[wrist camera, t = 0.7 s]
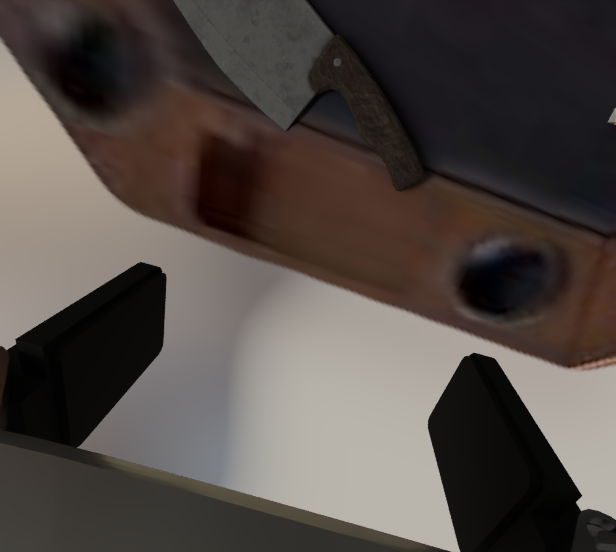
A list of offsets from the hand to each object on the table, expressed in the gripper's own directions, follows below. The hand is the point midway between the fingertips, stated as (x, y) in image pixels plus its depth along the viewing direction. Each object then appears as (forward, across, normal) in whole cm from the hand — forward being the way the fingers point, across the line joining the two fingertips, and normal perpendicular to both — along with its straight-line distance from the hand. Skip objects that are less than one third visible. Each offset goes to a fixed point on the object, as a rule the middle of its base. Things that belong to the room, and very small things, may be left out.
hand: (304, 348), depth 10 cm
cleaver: (+29, +6, -10) cm, 31 cm away
